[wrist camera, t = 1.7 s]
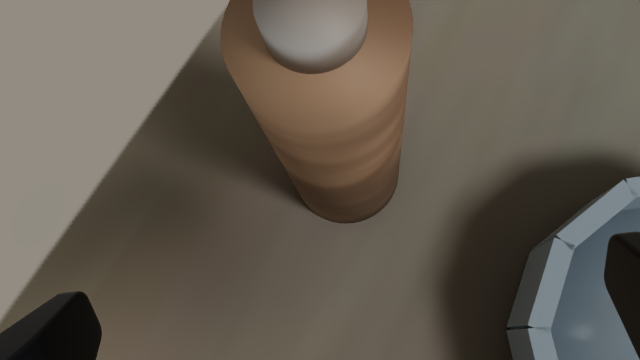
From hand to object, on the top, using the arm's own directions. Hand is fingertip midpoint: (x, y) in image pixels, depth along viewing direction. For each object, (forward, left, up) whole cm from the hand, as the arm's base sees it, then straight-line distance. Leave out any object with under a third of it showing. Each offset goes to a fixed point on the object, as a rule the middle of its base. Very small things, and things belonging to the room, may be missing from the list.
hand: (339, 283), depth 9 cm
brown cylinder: (+5, +3, -12) cm, 13 cm away
